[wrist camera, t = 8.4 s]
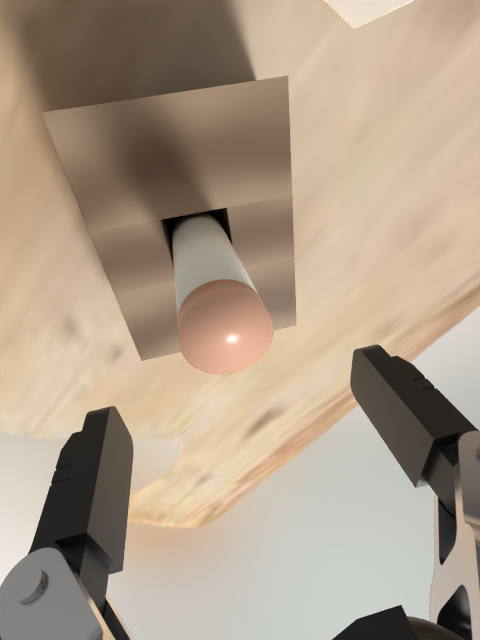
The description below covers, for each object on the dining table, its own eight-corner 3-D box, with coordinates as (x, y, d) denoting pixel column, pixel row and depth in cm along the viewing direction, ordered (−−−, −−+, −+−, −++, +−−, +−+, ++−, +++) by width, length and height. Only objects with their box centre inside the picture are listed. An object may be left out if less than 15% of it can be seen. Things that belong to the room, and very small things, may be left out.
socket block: (72, 114, 23) (40, 112, 17) (258, 86, 24) (287, 75, 18) (145, 318, 33) (141, 360, 27) (274, 290, 34) (296, 325, 28)
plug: (165, 218, 23) (167, 308, 12) (220, 207, 23) (269, 286, 12) (179, 268, 25) (190, 383, 14) (228, 258, 25) (276, 362, 14)
